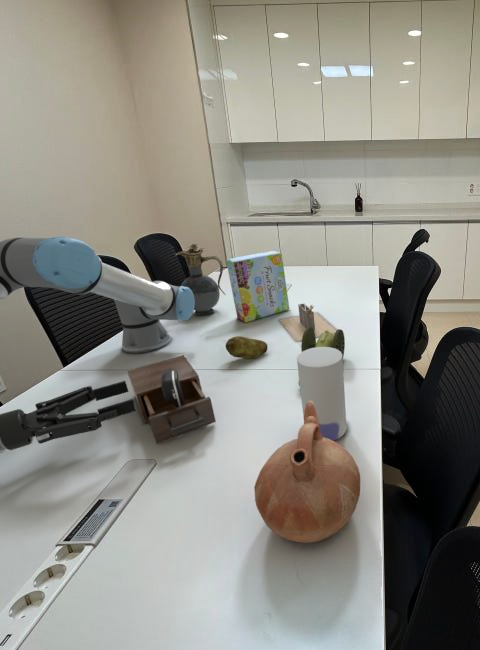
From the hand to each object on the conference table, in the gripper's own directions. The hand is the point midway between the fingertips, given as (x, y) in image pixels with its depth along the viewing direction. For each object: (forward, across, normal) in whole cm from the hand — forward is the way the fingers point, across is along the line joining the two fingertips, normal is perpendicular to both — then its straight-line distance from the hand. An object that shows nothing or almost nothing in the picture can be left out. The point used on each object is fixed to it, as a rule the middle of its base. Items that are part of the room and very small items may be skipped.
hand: (130, 395), depth 89 cm
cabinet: (+9, -12, -11) cm, 19 cm away
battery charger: (+9, 0, -9) cm, 13 cm away
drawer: (+9, +3, -10) cm, 14 cm away
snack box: (+58, -60, -11) cm, 84 cm away
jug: (+20, +47, -11) cm, 52 cm away
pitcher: (+40, -79, -11) cm, 89 cm away
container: (+35, +27, -11) cm, 46 cm away
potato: (+36, -23, -11) cm, 44 cm away
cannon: (+50, 0, -11) cm, 51 cm away
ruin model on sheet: (+65, -35, -10) cm, 75 cm away
